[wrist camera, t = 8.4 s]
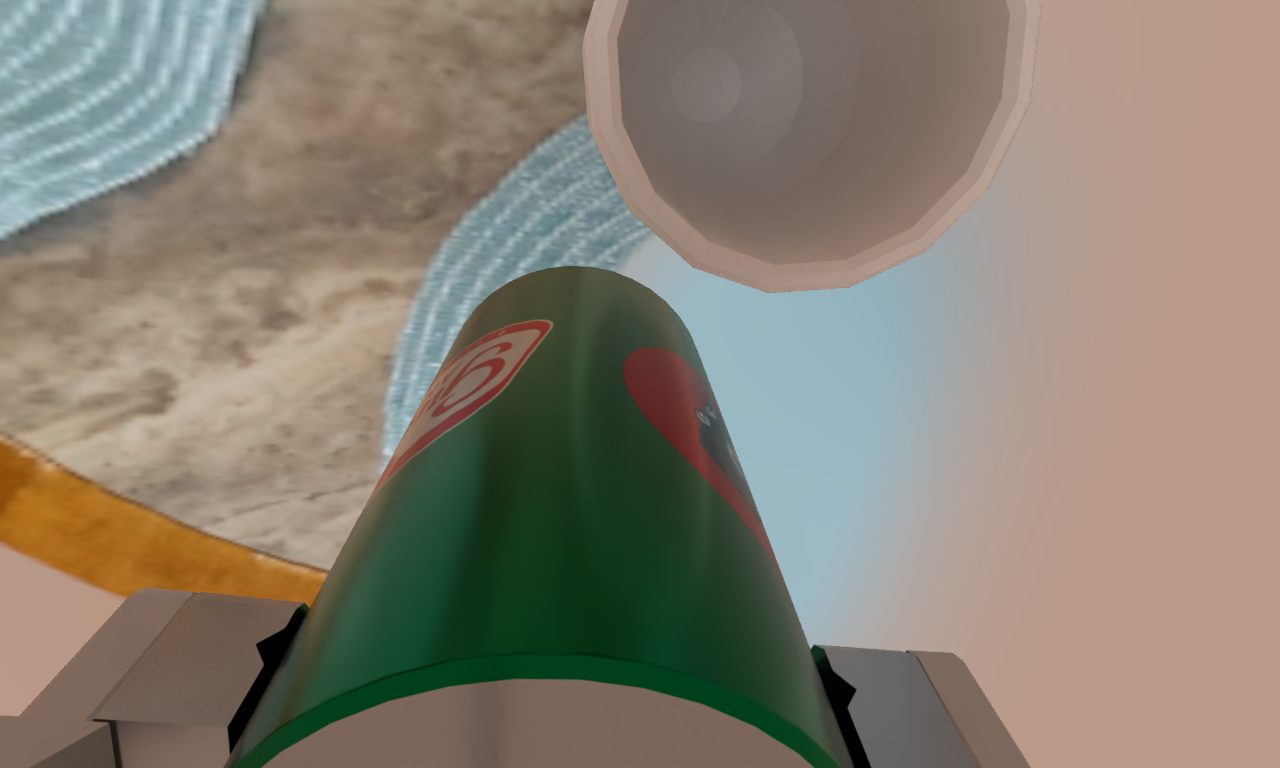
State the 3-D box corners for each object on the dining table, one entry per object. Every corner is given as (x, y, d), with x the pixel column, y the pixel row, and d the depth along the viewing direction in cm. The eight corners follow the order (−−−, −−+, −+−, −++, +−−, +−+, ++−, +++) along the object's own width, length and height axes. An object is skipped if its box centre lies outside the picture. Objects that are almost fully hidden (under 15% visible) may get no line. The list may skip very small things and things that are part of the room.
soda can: (510, 214, 14) (206, 687, 3) (742, 323, 15) (1132, 969, 4) (416, 434, 16) (-8, 1270, 5) (633, 520, 17) (705, 1367, 6)
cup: (846, 109, 37) (1146, 120, 16) (672, 241, 38) (750, 396, 18) (723, -91, 33) (909, -385, 13) (540, 63, 35) (458, 13, 15)
